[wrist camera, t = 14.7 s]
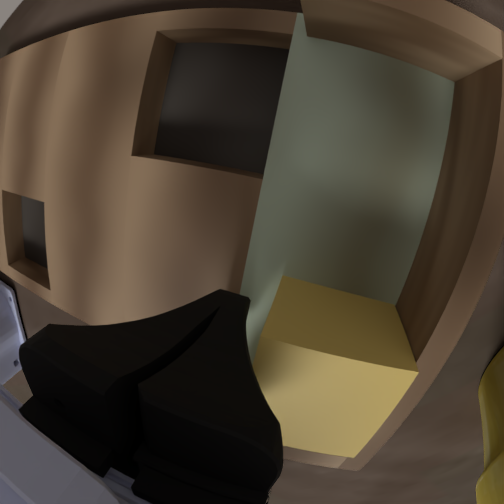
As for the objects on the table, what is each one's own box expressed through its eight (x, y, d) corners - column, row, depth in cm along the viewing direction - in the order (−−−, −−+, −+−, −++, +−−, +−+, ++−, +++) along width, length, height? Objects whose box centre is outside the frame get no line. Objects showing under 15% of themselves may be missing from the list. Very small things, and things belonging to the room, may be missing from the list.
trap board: (-4, 248, 19) (-49, 269, 14) (4, 66, 13) (-47, 65, 8) (356, 387, 14) (359, 470, 9) (458, 81, 8) (526, 48, 3)
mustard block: (258, 364, 12) (233, 431, 9) (282, 275, 11) (260, 335, 7) (352, 387, 12) (353, 457, 8) (394, 304, 10) (419, 372, 7)
